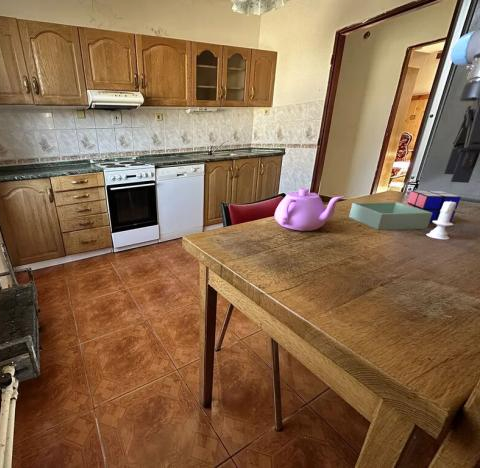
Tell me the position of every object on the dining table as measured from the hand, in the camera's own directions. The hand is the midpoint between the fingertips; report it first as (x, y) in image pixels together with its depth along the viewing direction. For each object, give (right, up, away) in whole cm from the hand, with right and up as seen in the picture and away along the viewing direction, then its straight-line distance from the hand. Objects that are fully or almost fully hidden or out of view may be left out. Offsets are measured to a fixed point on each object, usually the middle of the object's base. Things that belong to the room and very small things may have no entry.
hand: (455, 178), depth 63 cm
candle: (+16, -15, +19) cm, 29 cm away
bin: (+11, -10, +33) cm, 36 cm away
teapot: (-21, -12, +31) cm, 39 cm away
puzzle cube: (+29, -8, +36) cm, 47 cm away
